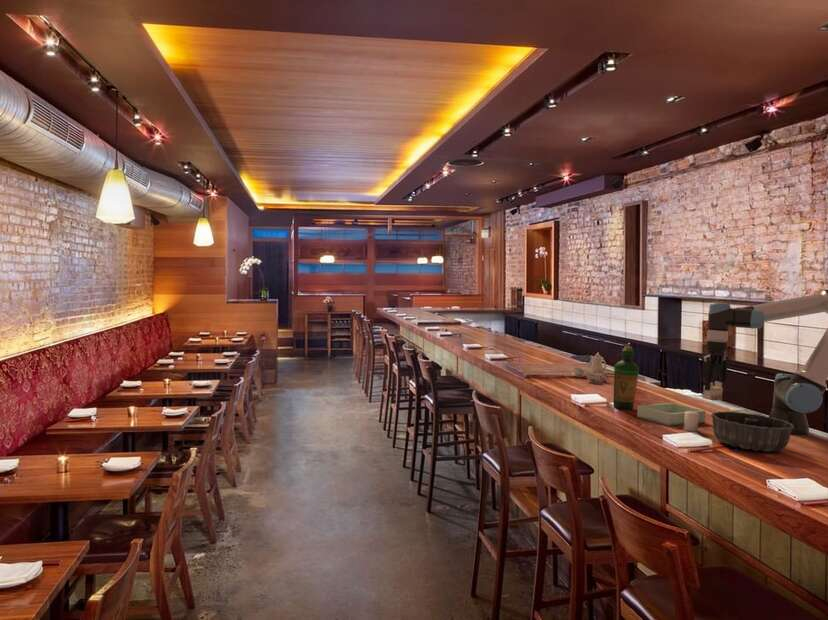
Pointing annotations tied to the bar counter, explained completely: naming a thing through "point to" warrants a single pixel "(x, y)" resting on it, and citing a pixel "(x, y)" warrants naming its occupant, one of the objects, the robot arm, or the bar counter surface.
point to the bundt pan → (751, 431)
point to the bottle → (625, 380)
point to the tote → (667, 413)
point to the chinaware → (593, 369)
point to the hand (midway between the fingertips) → (712, 397)
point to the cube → (715, 393)
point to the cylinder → (691, 421)
